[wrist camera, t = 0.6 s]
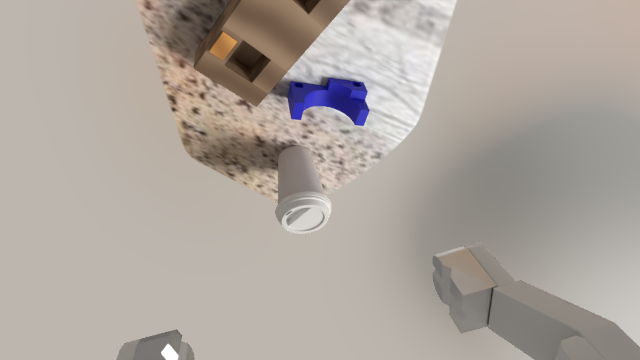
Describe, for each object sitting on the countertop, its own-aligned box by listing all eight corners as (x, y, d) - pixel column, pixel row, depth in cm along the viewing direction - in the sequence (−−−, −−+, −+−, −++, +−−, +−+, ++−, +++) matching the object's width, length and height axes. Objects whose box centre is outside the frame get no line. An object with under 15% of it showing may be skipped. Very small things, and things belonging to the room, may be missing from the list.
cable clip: (362, 82, 57) (372, 102, 53) (354, 104, 60) (363, 125, 56) (292, 72, 53) (296, 93, 49) (287, 97, 56) (291, 118, 52)
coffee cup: (305, 131, 62) (319, 193, 52) (326, 163, 69) (342, 223, 59) (260, 153, 64) (265, 216, 54) (285, 181, 71) (293, 242, 61)
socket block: (297, -98, 38) (303, -89, 34) (355, -32, 44) (366, -18, 40) (196, 50, 48) (193, 69, 44) (255, 88, 54) (256, 108, 50)
